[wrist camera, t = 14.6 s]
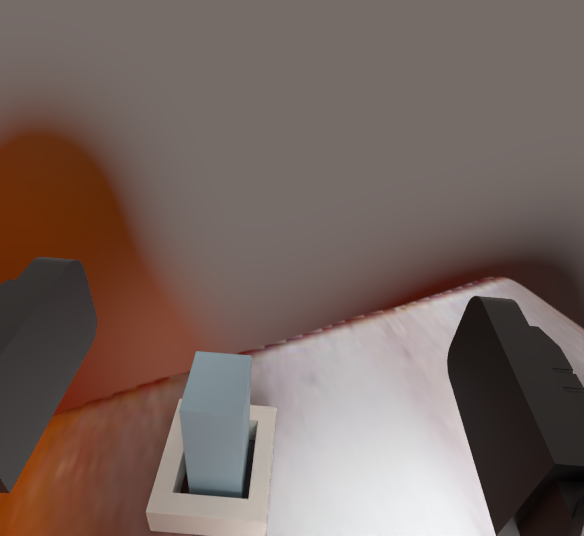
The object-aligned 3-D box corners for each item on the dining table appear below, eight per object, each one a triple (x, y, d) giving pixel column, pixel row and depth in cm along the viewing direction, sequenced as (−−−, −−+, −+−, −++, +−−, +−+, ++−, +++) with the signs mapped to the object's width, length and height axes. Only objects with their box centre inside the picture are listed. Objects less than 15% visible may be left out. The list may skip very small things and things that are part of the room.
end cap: (275, 426, 41) (276, 407, 39) (265, 540, 33) (266, 522, 31) (181, 419, 41) (179, 398, 39) (150, 530, 33) (145, 512, 31)
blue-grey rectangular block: (248, 448, 39) (251, 355, 32) (241, 506, 35) (242, 416, 28) (203, 444, 39) (196, 351, 32) (190, 502, 35) (179, 410, 28)
